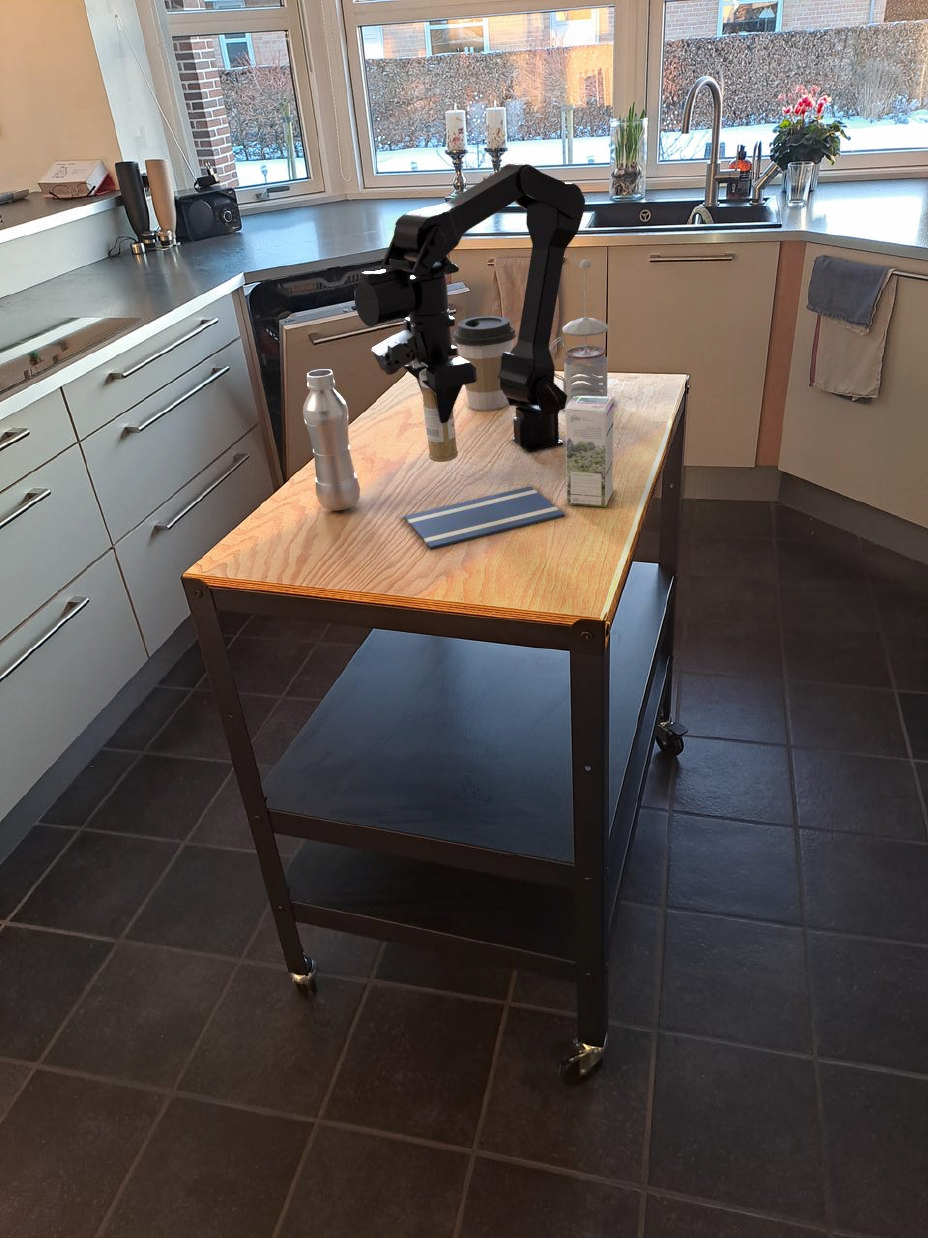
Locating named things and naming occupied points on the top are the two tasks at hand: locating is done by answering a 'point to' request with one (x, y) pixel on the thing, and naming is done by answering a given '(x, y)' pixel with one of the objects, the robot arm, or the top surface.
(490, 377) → the coffee cup
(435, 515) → the tea towel
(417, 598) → the top surface
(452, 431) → the sprinkles bottle
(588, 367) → the french press
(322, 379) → the silver water bottle
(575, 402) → the syrup box
